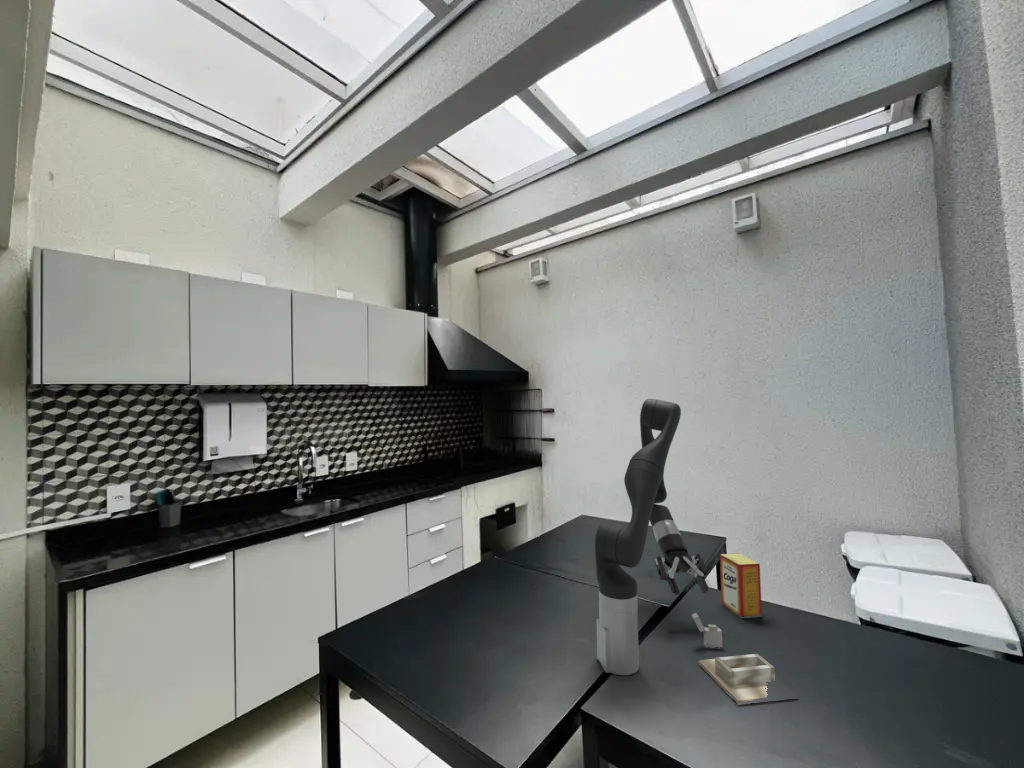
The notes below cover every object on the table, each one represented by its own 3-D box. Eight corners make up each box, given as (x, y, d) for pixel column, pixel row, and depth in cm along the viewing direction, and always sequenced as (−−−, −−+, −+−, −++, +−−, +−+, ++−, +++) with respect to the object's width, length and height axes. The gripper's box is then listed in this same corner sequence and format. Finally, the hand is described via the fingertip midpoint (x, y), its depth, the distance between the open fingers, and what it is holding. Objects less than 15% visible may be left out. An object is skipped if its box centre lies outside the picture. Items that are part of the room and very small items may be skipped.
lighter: (719, 644, 107) (718, 613, 108) (722, 648, 106) (721, 616, 106) (692, 643, 108) (691, 612, 109) (694, 647, 106) (693, 615, 107)
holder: (738, 705, 85) (737, 685, 85) (698, 664, 99) (697, 647, 99) (797, 699, 87) (796, 679, 87) (750, 659, 101) (749, 642, 101)
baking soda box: (721, 604, 130) (719, 552, 131) (740, 602, 131) (738, 551, 132) (741, 619, 121) (739, 563, 122) (761, 617, 121) (759, 562, 122)
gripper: (651, 533, 123) (672, 589, 110) (695, 531, 125) (720, 585, 112) (643, 545, 127) (663, 600, 115) (685, 543, 129) (709, 596, 117)
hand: (691, 593), depth 114 cm, fingers open, 8 cm apart
